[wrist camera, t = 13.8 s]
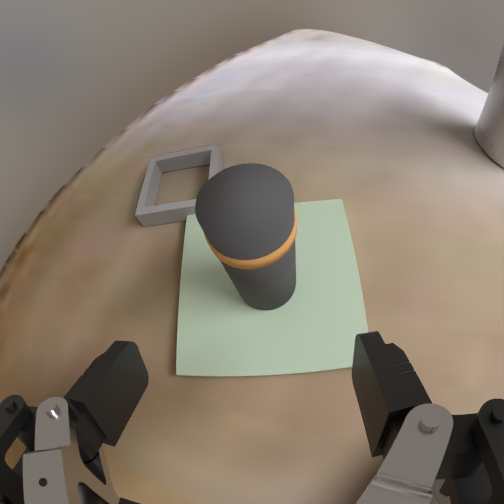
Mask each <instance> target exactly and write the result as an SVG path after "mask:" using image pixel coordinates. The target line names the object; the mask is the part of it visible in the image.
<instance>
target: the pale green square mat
mask: <svg viewBox="0 0 504 504" xmlns="http://www.w3.org/2000/svg"><path fill="white" fill-rule="evenodd" d="M294 207H295V210H296V215H297V233H296V237H295V248H296V287H295V291H294V293H293V295H292V297H291V298H290V300H289V301H288V302H287V303H286V304H284V305H283V306H281V307H279V308H277V309H274V310H268V311H264V310H258V309H255V308H252V307H251V306H249V305H248V304H246V303H245V302H244V300H243V299H242V298H241V296H240V294H239V292H238V291H237V289H236V287H235V286H234V284H233V282H232V281H231V279H230V277H229V275H228V274H227V272H226V270H225V268H224V267H223V265H222V263H221V262H220V260H219V259H218V258H217V257H216V256H215V254H214V253H213V252H212V250H211V248H210V246H209V245H208V243H207V241H206V239H205V236H204V232H203V230H202V228H201V226H200V224H199V222H198V220H197V218H196V214H193V215H187V220H186V228H185V238H184V247H183V257H182V268H181V281H180V294H179V310H178V329H177V356H176V375H181V376H212V377H238V376H268V375H285V374H298V373H309V372H318V371H327V370H335V369H342V368H349V367H352V364H353V355H354V345H355V337H356V335H357V334H361V333H368V328H367V321H366V314H365V307H364V301H363V295H362V289H361V283H360V278H359V273H358V268H357V263H356V258H355V253H354V248H353V244H352V239H351V235H350V230H349V226H348V222H347V218H346V214H345V210H344V206H343V202H342V199H334V200H321V201H309V202H298V203H294Z"/></svg>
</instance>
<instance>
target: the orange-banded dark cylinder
mask: <svg viewBox="0 0 504 504" xmlns="http://www.w3.org/2000/svg"><path fill="white" fill-rule="evenodd" d="M195 213H196V218H197V220H198V222H199V224H200V226H201V228H202V230H203V232H204V236H205V239H206V241H207V243H208V245H209V246H210V248H211V250H212V252H213V253H214V254H215V256H216V257H217V258H218V259H219V260H220V262H221V263H222V265H223V267H224V268H225V270H226V272H227V274H228V275H229V277H230V279H231V281H232V282H233V284H234V286H235V287H236V289H237V291H238V292H239V294H240V296H241V298H242V299H243V300H244V302H245V303H246V304H248V305H249V306H251V307H252V308H255V309H258V310H264V311H268V310H274V309H277V308H279V307H281V306H283V305H284V304H286V303H287V302H288V301H289V300H290V298H291V297H292V295H293V293H294V291H295V287H296V248H295V237H296V233H297V215H296V210H295V207H294V194H293V189H292V187H291V184H290V183H289V181H288V179H287V178H286V177H285V176H284V175H283V174H282V173H280V172H279V171H277V170H276V169H274V168H272V167H269V166H266V165H261V164H240V165H236V166H232V167H229V168H226V169H224V170H222V171H220V172H219V173H217V174H215V175H214V176H213V177H211V178H210V179H209V180H208V181H207V182H206V183H205V184H204V186H203V187H202V189H201V190H200V192H199V194H198V196H197V199H196V204H195Z"/></svg>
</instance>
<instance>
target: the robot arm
mask: <svg viewBox="0 0 504 504" xmlns="http://www.w3.org/2000/svg"><path fill="white" fill-rule="evenodd" d="M474 135H475V138H476V140H477V142H478V144H479V145H480V147H481V148H482V149H483V150H484V151H485V153H486V154H487V155H488V156H489V157H490V158H491V159H492V160H494V161H495V162H496V163H497V164H499V165H500V166H502V167H503V168H504V42H503V46H502V51H501V55H500V59H499V62H498V66H497V70H496V73H495V76H494V79H493V82H492V85H491V88H490V91H489V94H488V97H487V100H486V102H485V105H484V108H483V110H482V113H481V115H480V118H479V120H478V123H477V125H476V127H475V130H474ZM352 380H353V385H354V389H355V393H356V396H357V400H358V403H359V407H360V411H361V415H362V418H363V422H364V426H365V430H366V434H367V438H368V442H369V447H370V451H371V455H372V457H375V456H380V455H383V459H384V462H383V463H382V465H381V467H380V468H379V470H378V472H377V473H376V475H375V476H374V478H373V479H372V481H371V482H370V484H369V485H368V487H367V488H366V490H365V491H364V493H363V494H362V495H361V497H360V498H359V500H358V501H357V503H356V504H430V502H431V499H432V495H433V493H432V492H431V488H432V485H433V483H434V480H437V479H445V481H446V485H447V489H448V493H449V497H450V501H451V504H504V400H503V399H492V400H489V401H487V402H486V403H484V404H483V406H482V407H481V409H480V410H479V412H478V413H475V414H465V415H451V414H450V412H449V411H448V410H447V409H446V408H444V407H442V406H440V405H437V404H432V402H431V400H430V398H429V396H428V394H427V393H426V391H425V389H424V387H423V385H422V383H421V381H420V379H419V378H418V376H417V374H416V372H415V371H414V369H413V367H412V365H411V363H409V360H408V358H407V356H406V354H405V353H404V351H403V350H402V349H400V348H399V347H398V346H396V345H395V344H394V343H390V344H385V343H384V341H383V339H382V337H381V335H380V334H379V332H378V331H375V332H368V333H361V334H357V335H356V337H355V345H354V355H353V364H352ZM147 385H148V372H147V370H146V367H145V365H144V362H143V360H142V357H141V355H140V352H139V349H138V347H137V345H136V344H135V343H134V342H130V341H115V342H114V343H113V344H112V345H111V346H110V347H109V349H108V350H107V351H106V352H105V353H103V354H102V355H100V356H99V357H97V358H96V359H95V360H94V361H93V362H92V364H91V365H90V366H89V368H87V370H86V371H85V372H84V375H82V376H81V377H80V378H79V379H78V381H77V382H76V383H75V384H74V385H73V387H72V388H71V389H70V390H69V392H68V393H67V394H66V395H65V397H64V398H62V397H51V398H49V399H46V400H45V401H43V402H42V403H41V404H40V405H39V407H29V406H28V405H27V404H26V402H25V401H24V400H23V398H22V397H21V396H19V395H12V396H9V397H7V398H6V399H4V400H3V401H2V402H1V404H0V504H139V503H136V502H133V501H130V500H127V499H124V498H119V497H118V495H117V494H116V492H115V490H114V488H113V485H112V482H111V478H110V475H109V471H108V468H107V464H106V460H105V456H104V452H103V450H102V449H101V448H100V447H101V445H102V443H105V444H108V445H111V446H114V447H115V445H116V443H117V441H118V439H119V438H120V436H121V434H122V432H123V430H124V428H125V426H126V424H127V423H128V421H129V419H130V417H131V415H132V413H133V411H134V410H135V408H136V406H137V404H138V402H139V400H140V399H141V397H142V395H143V393H144V391H145V390H146V388H147ZM16 437H18V438H19V440H20V441H21V442H22V443H23V444H24V445H25V446H26V447H27V448H26V450H25V451H24V453H23V455H22V456H21V458H20V459H19V461H18V463H17V464H16V466H15V468H14V469H13V470H12V469H11V468H10V467H9V466H8V465H7V464H6V462H5V454H6V452H7V450H8V449H9V447H10V446H11V444H12V443H13V442H14V440H15V439H16Z"/></svg>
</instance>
